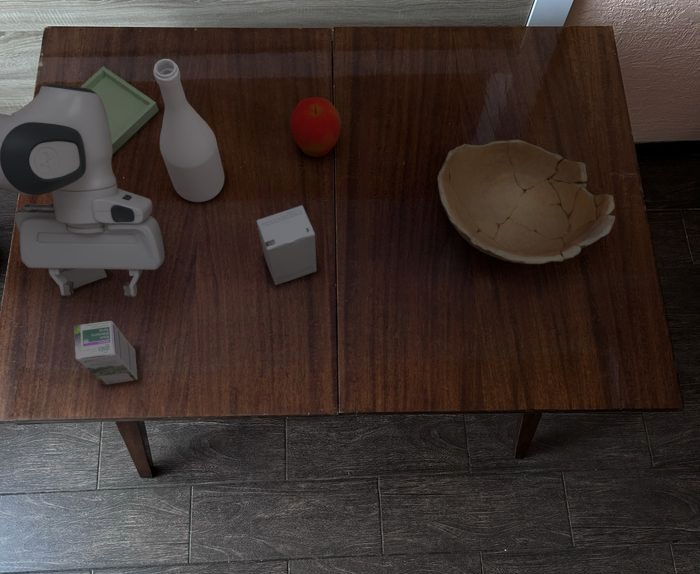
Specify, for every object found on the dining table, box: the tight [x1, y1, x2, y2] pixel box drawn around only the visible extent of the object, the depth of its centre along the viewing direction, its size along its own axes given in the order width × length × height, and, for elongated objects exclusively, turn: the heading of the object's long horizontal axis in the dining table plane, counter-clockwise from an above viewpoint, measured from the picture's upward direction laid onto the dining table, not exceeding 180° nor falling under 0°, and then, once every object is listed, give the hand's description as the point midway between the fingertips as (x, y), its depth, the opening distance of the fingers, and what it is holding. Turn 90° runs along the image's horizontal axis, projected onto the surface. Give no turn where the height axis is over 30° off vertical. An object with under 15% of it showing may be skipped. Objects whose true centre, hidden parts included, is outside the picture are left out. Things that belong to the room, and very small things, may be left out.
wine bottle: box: [152, 58, 225, 203], centre depth 115 cm, size 10×10×30 cm
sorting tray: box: [80, 65, 160, 156], centre depth 132 cm, size 14×14×2 cm
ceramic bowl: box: [436, 139, 616, 265], centre depth 123 cm, size 30×27×15 cm
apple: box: [290, 96, 342, 158], centre depth 127 cm, size 9×9×12 cm
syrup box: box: [73, 320, 138, 386], centre depth 110 cm, size 6×6×14 cm
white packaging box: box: [61, 269, 108, 290], centre depth 116 cm, size 7×7×13 cm
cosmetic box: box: [256, 205, 318, 286], centre depth 117 cm, size 8×6×15 cm
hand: (99, 294), depth 105 cm, fingers open, 8 cm apart
